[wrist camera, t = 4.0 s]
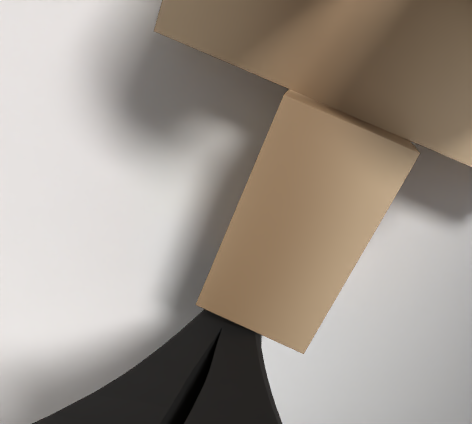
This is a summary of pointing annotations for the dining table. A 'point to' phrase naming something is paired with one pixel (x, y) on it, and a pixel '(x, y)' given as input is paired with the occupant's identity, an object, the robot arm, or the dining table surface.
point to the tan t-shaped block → (327, 138)
